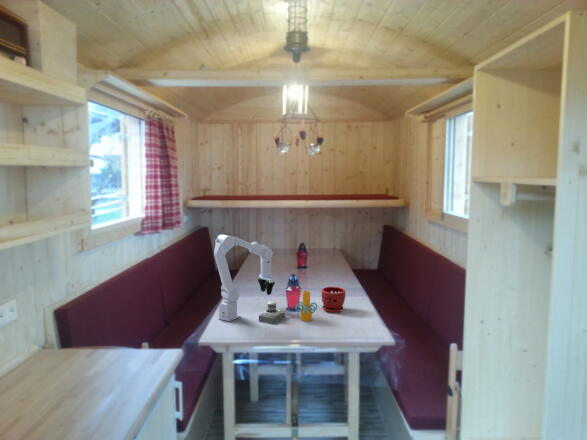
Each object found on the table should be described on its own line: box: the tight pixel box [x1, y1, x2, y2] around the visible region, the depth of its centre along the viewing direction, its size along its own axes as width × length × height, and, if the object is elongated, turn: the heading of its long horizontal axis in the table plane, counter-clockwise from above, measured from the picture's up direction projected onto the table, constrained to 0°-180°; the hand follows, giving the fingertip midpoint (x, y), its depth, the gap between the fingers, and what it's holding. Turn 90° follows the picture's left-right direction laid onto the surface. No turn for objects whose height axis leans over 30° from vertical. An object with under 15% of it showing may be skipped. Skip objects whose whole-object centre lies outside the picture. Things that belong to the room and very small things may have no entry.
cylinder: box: [294, 289, 318, 322], centre depth 225 cm, size 12×10×15 cm
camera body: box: [258, 308, 286, 325], centre depth 226 cm, size 12×8×4 cm
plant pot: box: [321, 286, 346, 314], centre depth 240 cm, size 13×13×12 cm
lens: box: [266, 300, 277, 313], centre depth 226 cm, size 5×5×6 cm
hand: (266, 293), depth 241 cm, fingers open, 7 cm apart
